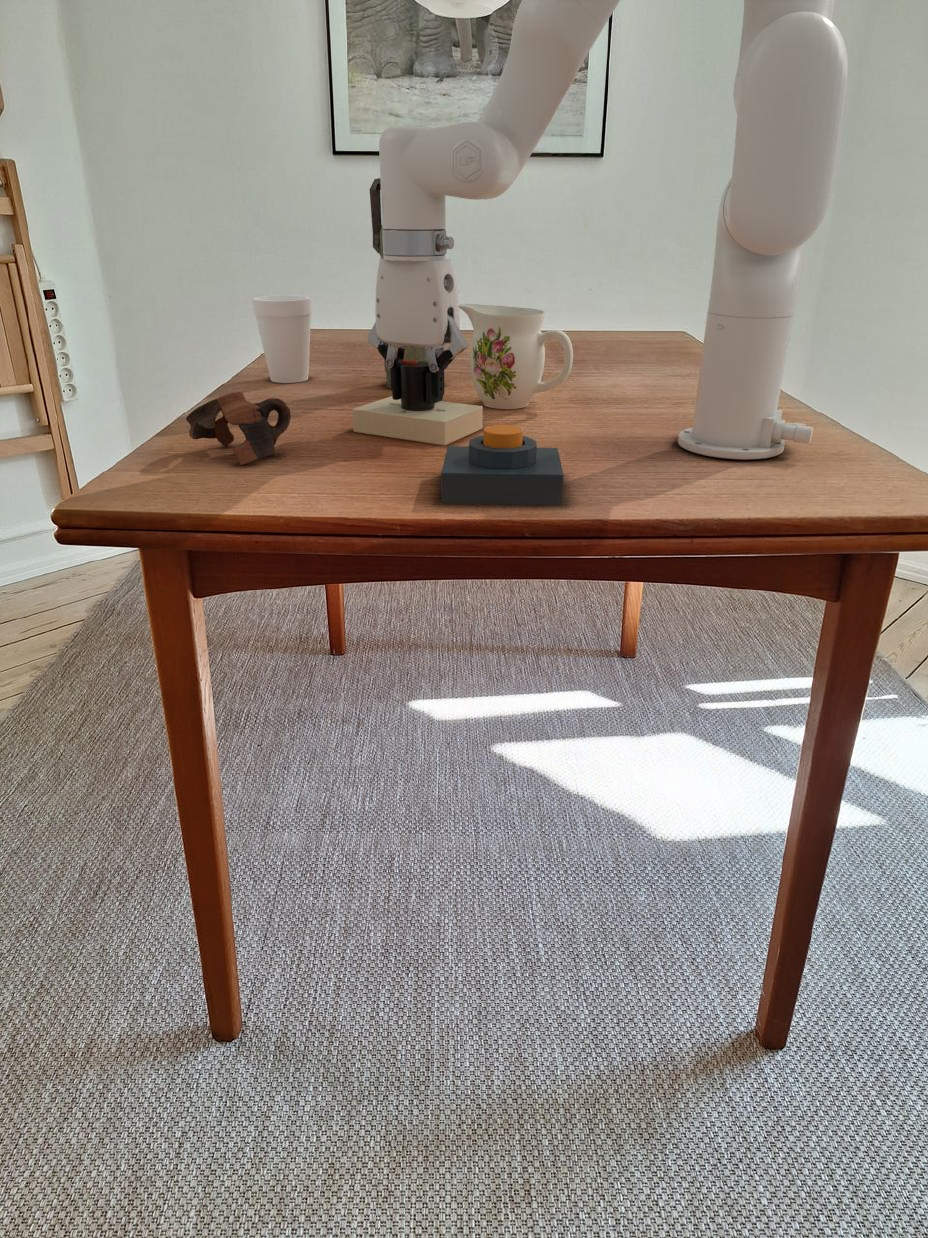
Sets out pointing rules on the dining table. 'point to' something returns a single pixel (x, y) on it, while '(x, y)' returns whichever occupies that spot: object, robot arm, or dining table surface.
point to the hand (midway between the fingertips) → (417, 398)
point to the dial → (414, 385)
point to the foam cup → (285, 335)
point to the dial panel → (418, 421)
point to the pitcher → (511, 354)
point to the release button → (502, 436)
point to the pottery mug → (241, 424)
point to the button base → (502, 474)
